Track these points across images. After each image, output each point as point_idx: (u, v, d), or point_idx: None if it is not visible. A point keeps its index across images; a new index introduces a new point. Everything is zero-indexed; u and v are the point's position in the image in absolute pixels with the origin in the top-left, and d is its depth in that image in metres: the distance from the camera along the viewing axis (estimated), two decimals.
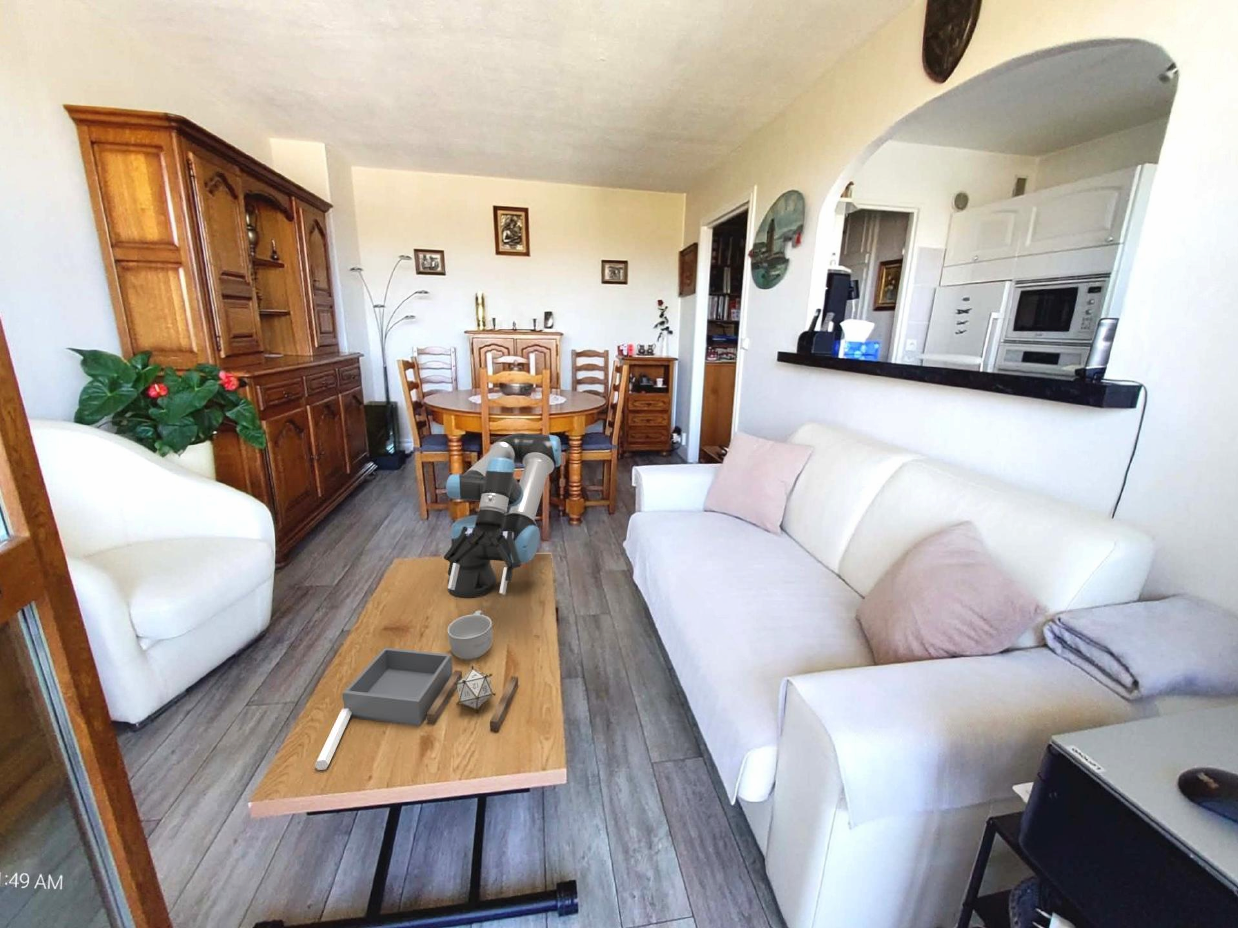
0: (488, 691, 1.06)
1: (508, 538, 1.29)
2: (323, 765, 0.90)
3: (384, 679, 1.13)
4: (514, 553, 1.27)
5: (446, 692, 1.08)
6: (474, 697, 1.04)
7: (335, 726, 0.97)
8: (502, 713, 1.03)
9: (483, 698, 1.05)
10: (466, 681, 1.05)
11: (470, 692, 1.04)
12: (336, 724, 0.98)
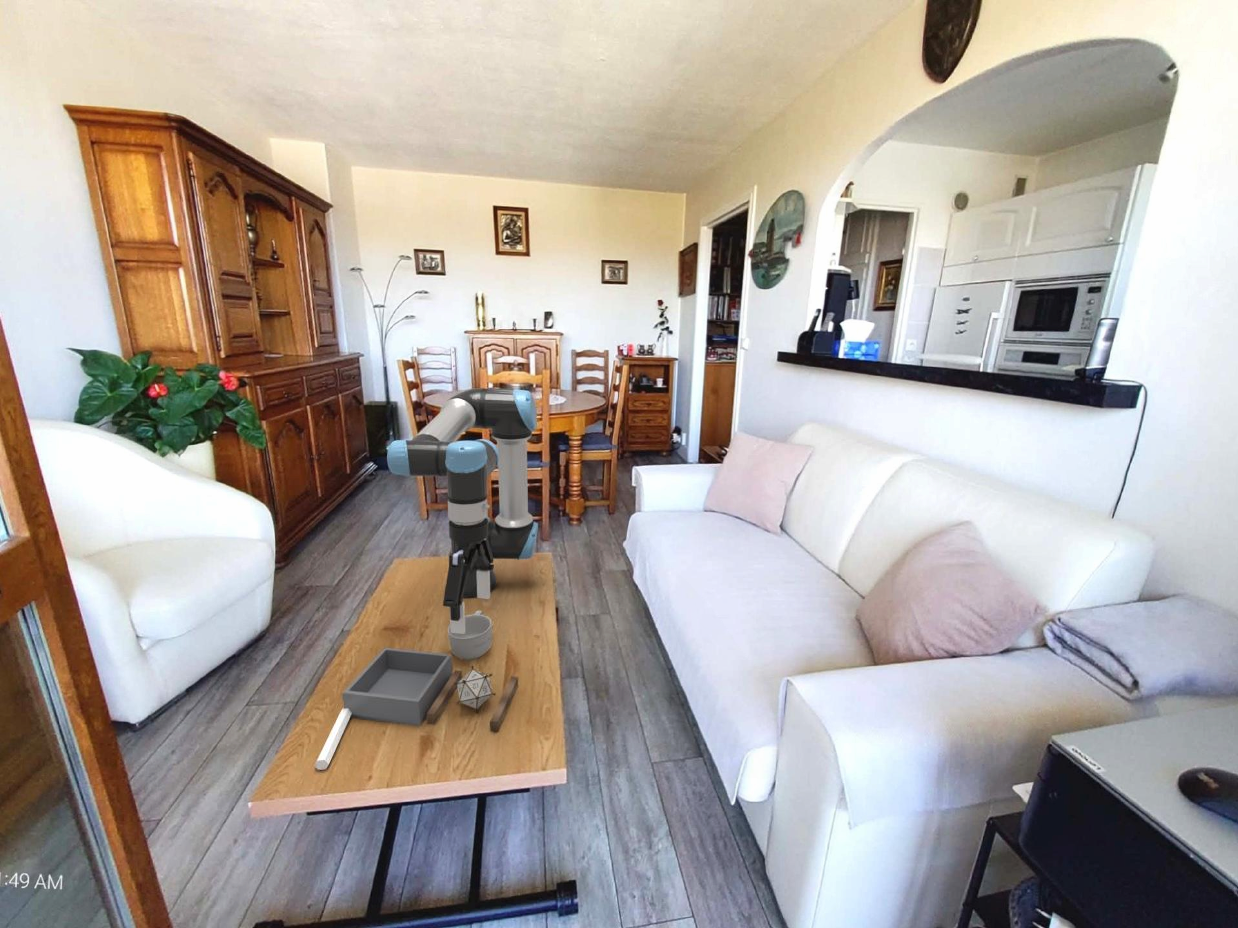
0: (488, 691, 1.06)
1: (486, 540, 1.05)
2: (323, 765, 0.90)
3: (384, 679, 1.13)
4: (490, 552, 1.08)
5: (446, 692, 1.08)
6: (474, 697, 1.04)
7: (335, 726, 0.97)
8: (502, 713, 1.03)
9: (483, 698, 1.05)
10: (466, 681, 1.05)
11: (470, 692, 1.04)
12: (336, 724, 0.98)
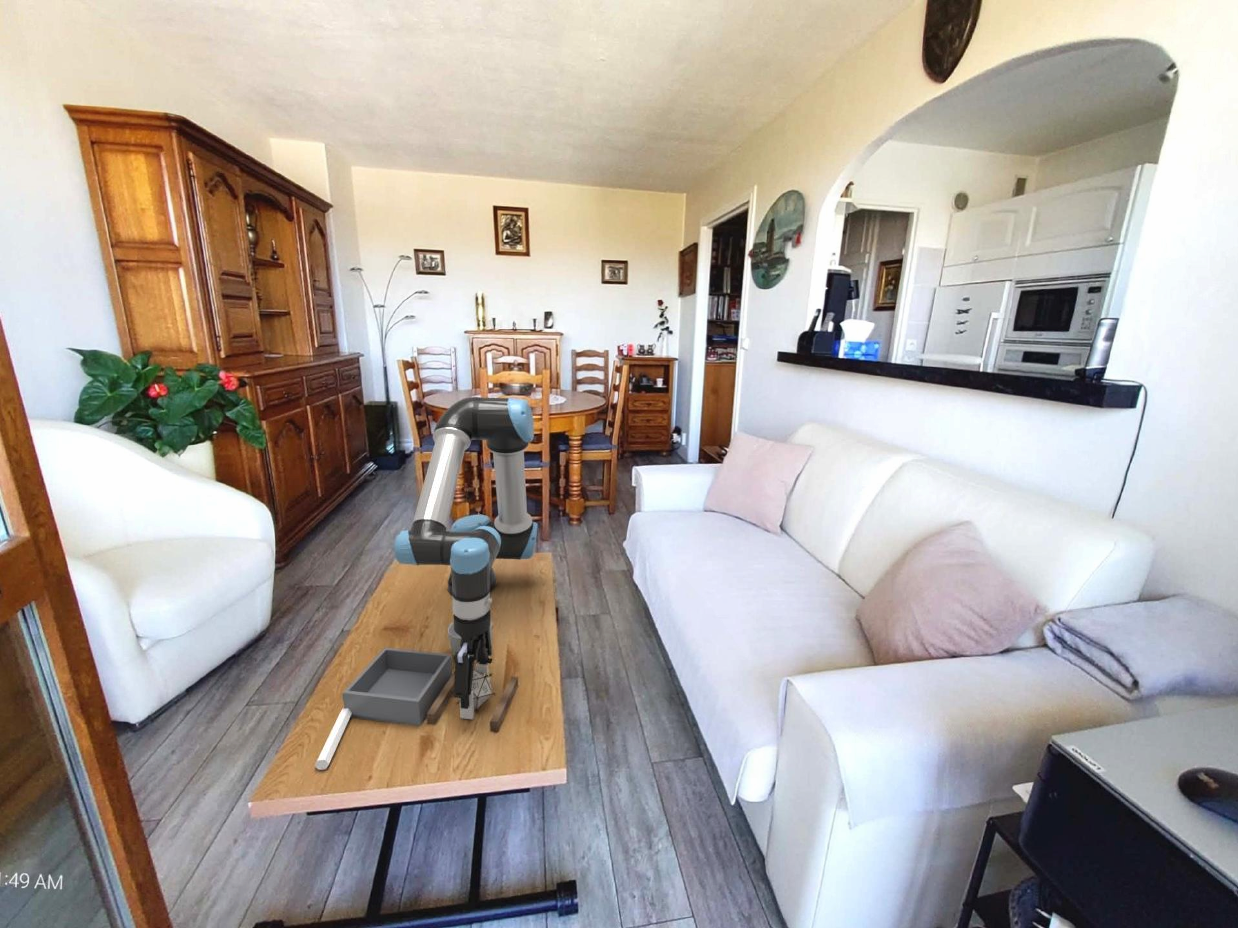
0: (488, 691, 1.06)
1: (488, 629, 1.10)
2: (323, 765, 0.90)
3: (384, 679, 1.13)
4: (490, 643, 1.12)
5: (446, 692, 1.08)
6: (474, 697, 1.04)
7: (335, 726, 0.97)
8: (502, 713, 1.03)
9: (483, 698, 1.05)
10: None
11: None
12: (336, 724, 0.98)
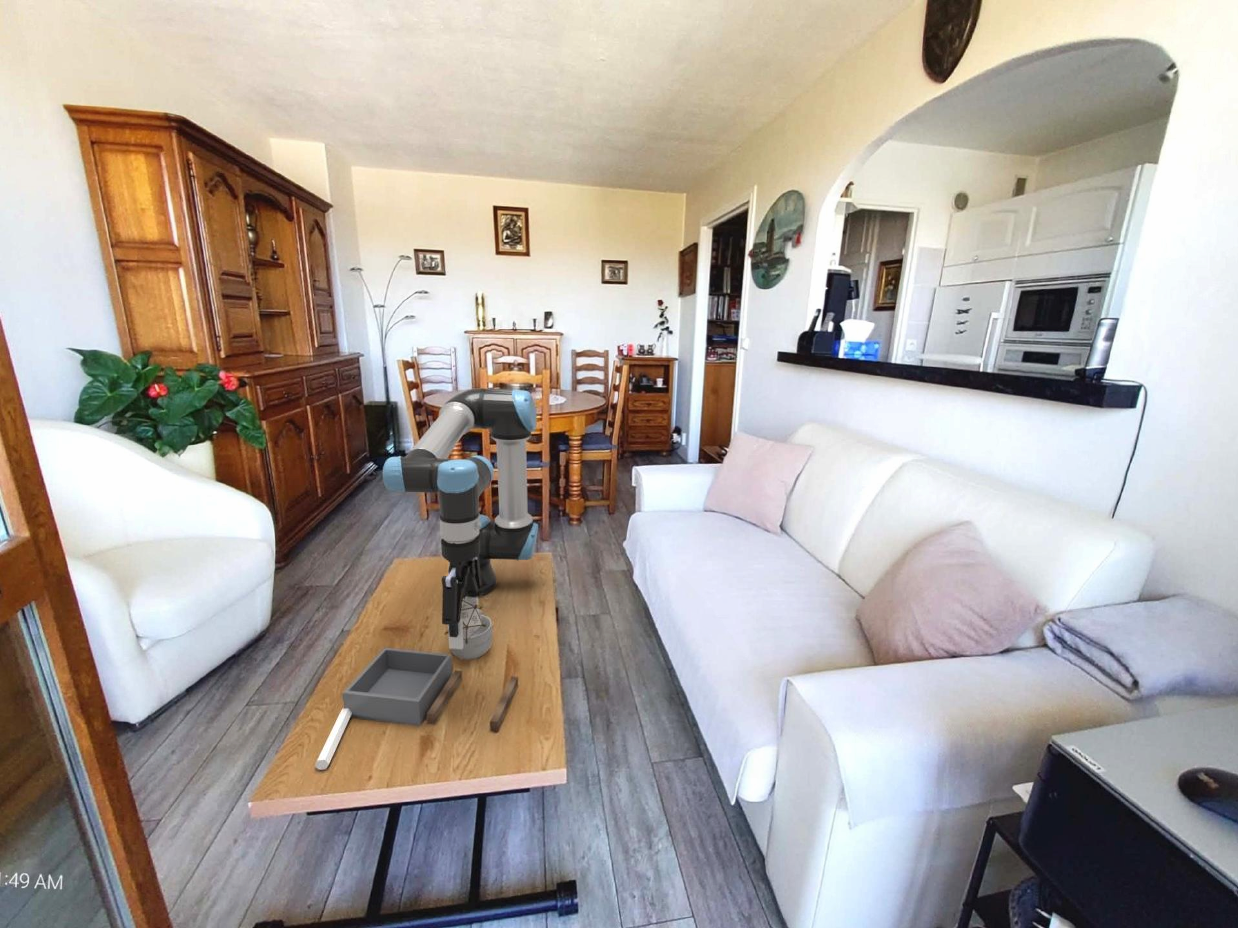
0: (478, 622, 1.02)
1: (477, 560, 1.06)
2: (323, 765, 0.90)
3: (384, 679, 1.13)
4: (480, 576, 1.08)
5: (446, 692, 1.08)
6: (463, 626, 1.00)
7: (335, 726, 0.97)
8: (502, 713, 1.03)
9: (473, 628, 1.02)
10: None
11: None
12: (336, 724, 0.98)
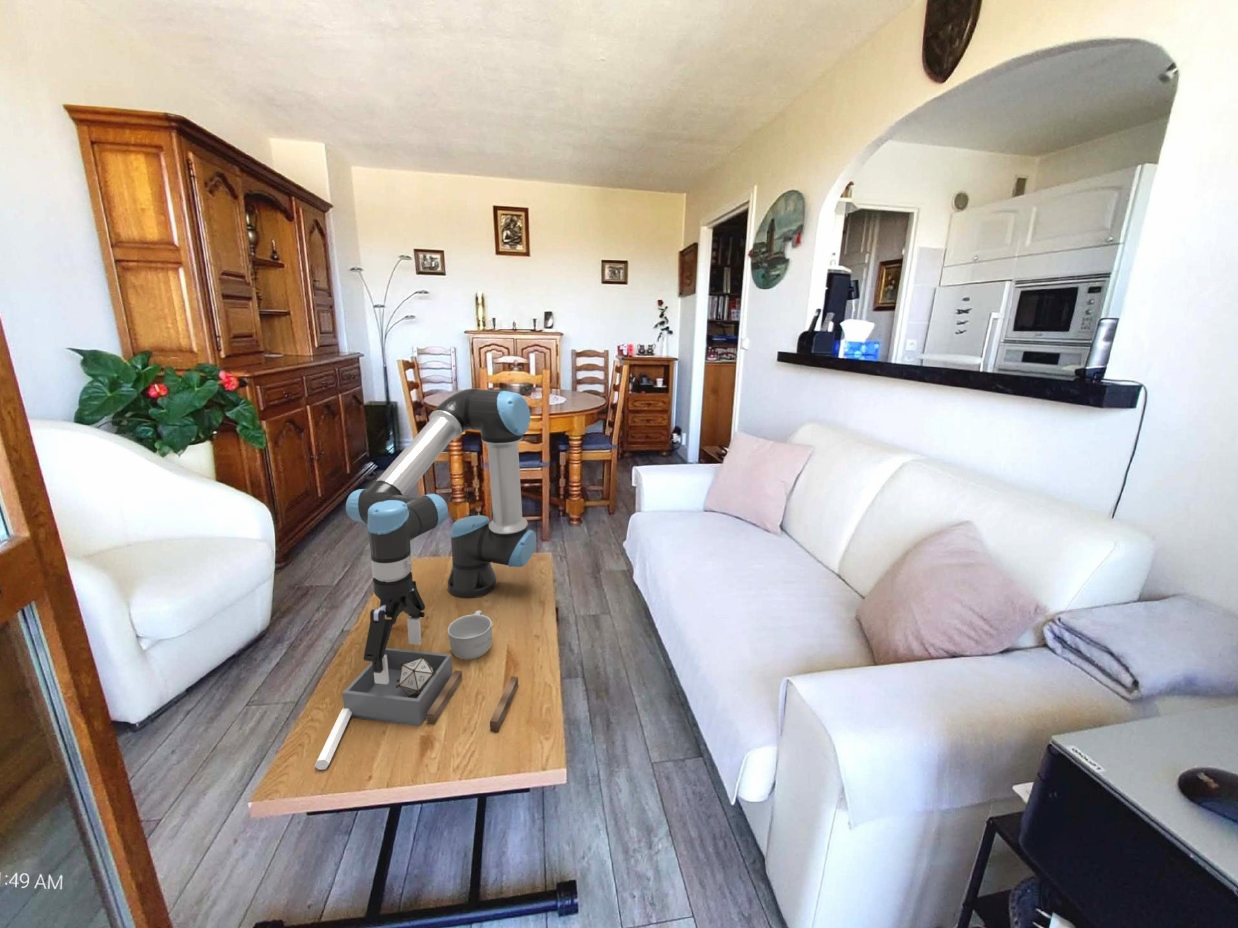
0: None
1: (415, 590, 1.10)
2: (323, 765, 0.90)
3: None
4: (421, 600, 1.13)
5: (446, 692, 1.08)
6: (415, 689, 1.05)
7: (335, 726, 0.97)
8: (502, 713, 1.03)
9: (421, 691, 1.07)
10: (415, 671, 1.05)
11: (414, 682, 1.05)
12: (336, 724, 0.98)
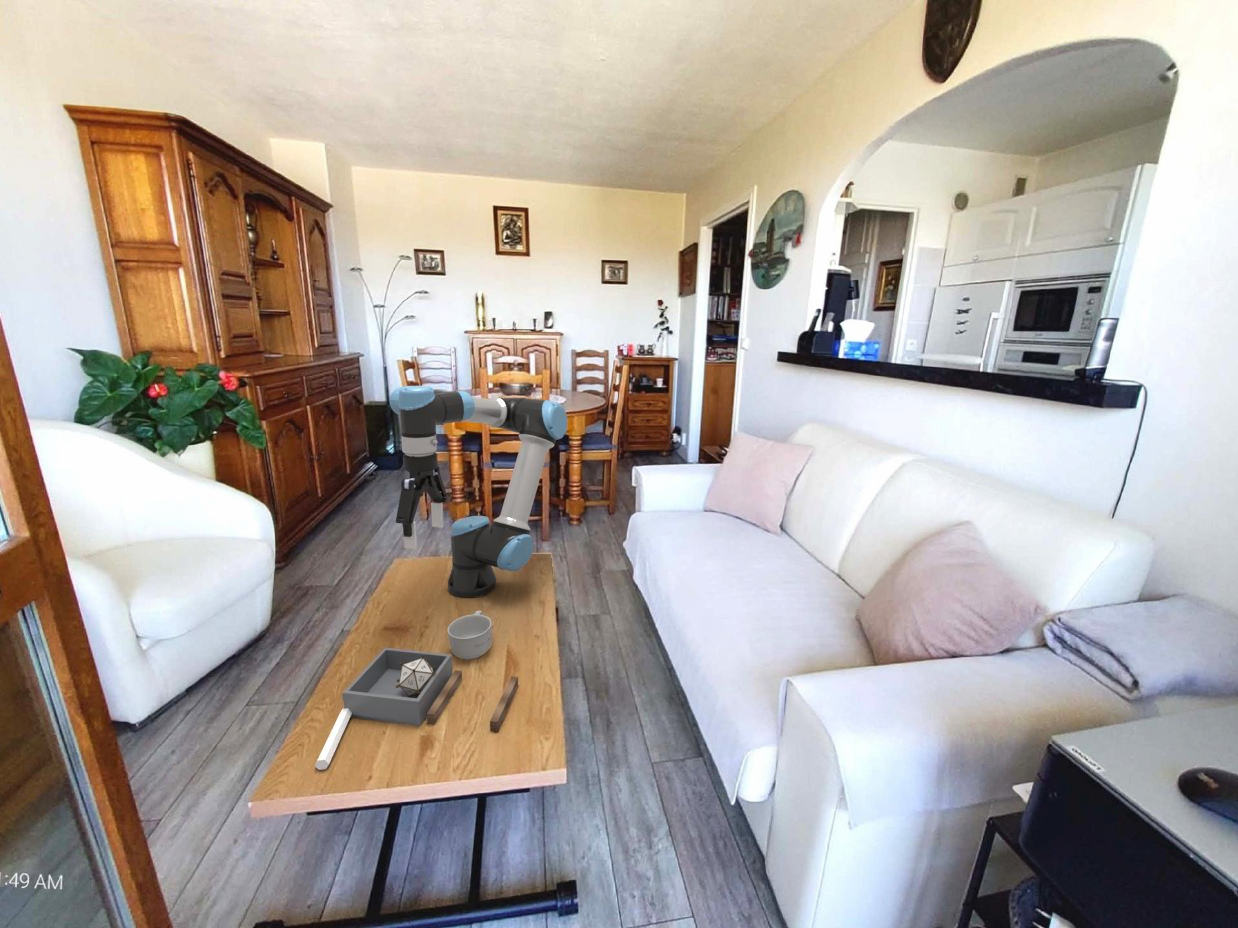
0: None
1: (438, 475, 1.22)
2: (323, 765, 0.90)
3: (384, 679, 1.13)
4: (443, 487, 1.25)
5: (446, 692, 1.08)
6: (415, 689, 1.05)
7: (335, 726, 0.97)
8: (502, 713, 1.03)
9: (421, 691, 1.07)
10: (415, 671, 1.05)
11: (414, 682, 1.05)
12: (336, 724, 0.98)
